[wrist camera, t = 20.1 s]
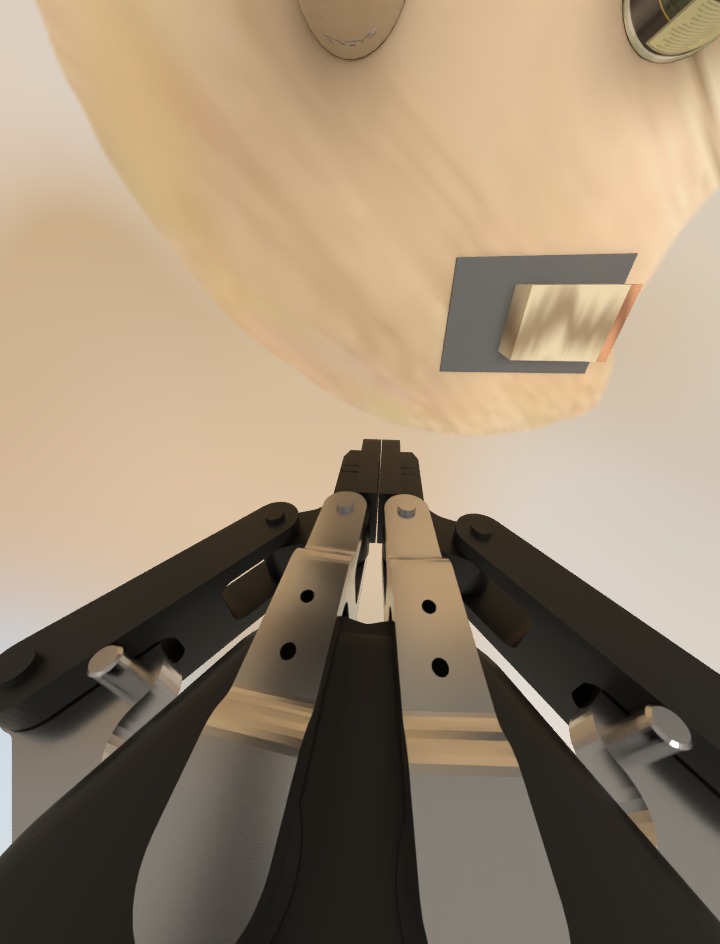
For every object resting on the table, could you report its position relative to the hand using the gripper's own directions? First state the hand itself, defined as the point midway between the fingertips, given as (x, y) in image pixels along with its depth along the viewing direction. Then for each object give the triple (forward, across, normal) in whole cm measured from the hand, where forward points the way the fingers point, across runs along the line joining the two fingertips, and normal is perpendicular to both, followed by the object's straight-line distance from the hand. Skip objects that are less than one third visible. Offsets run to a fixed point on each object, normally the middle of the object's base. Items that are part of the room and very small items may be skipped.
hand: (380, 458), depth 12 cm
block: (+26, -14, -2) cm, 30 cm away
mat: (+29, -16, -2) cm, 33 cm away
